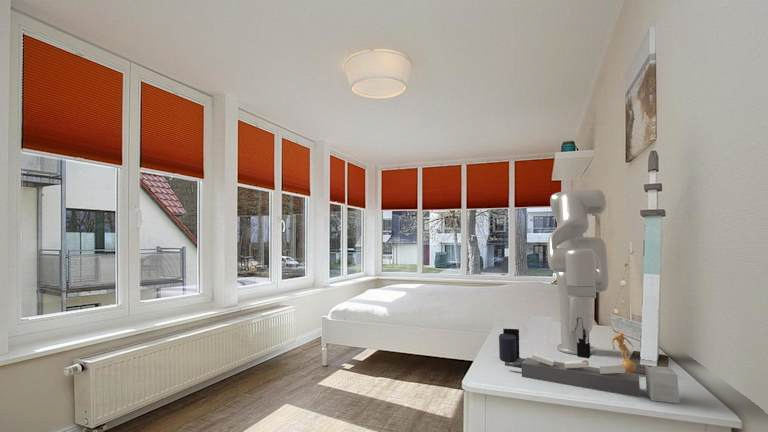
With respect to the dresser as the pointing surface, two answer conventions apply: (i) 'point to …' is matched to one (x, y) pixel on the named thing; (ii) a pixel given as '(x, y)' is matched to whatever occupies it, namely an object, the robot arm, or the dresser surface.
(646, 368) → the skincare box
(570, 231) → the robot arm
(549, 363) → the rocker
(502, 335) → the speaker
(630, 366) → the figurine
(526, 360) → the power strip
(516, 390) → the dresser surface
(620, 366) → the block
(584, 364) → the block
